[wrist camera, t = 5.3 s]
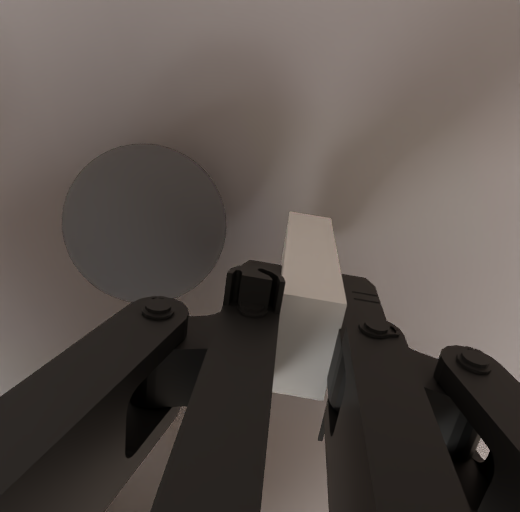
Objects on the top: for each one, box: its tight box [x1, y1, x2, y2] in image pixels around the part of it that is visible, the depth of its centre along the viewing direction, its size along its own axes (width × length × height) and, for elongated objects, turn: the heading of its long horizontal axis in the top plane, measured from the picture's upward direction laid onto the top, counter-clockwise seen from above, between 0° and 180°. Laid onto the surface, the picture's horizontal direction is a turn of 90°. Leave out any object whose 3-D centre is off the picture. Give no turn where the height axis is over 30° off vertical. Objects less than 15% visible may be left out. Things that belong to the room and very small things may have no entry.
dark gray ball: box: [62, 144, 226, 302], centre depth 16 cm, size 6×6×6 cm
